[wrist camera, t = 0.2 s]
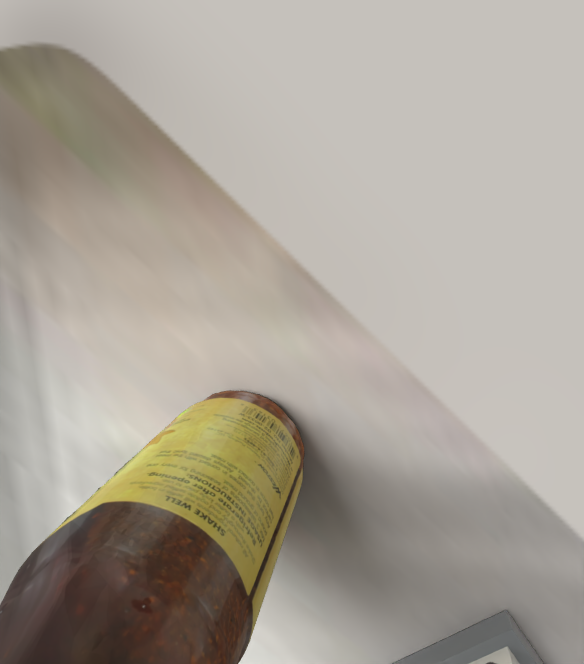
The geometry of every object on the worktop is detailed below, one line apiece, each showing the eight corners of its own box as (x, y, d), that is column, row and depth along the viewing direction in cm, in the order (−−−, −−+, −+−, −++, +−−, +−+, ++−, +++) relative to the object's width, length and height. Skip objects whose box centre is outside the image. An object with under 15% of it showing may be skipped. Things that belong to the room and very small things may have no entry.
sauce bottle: (171, 387, 25) (-565, 867, 6) (304, 382, 24) (-71, 969, 5) (187, 519, 26) (-399, 1307, 7) (316, 521, 25) (46, 1483, 6)
